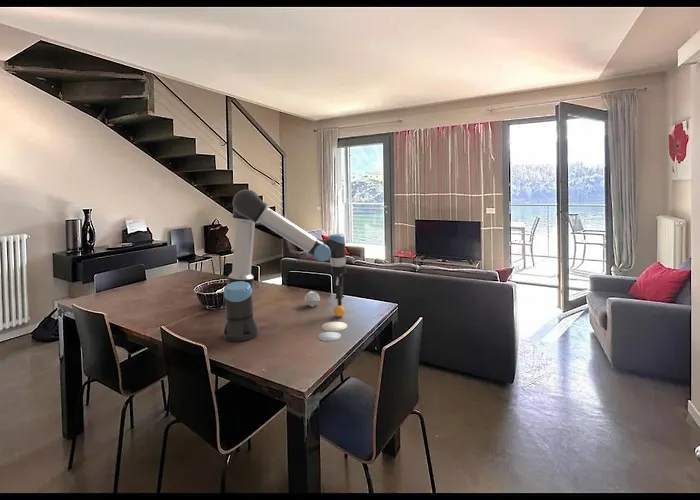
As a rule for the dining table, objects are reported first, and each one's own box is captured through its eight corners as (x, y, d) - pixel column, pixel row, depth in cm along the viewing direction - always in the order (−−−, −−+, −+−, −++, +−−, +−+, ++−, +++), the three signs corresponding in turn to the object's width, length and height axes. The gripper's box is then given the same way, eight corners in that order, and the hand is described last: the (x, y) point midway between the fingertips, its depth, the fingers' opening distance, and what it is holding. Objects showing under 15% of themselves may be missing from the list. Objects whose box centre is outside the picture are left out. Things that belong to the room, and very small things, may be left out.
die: (323, 307, 211) (321, 290, 215) (314, 303, 204) (313, 286, 209) (311, 310, 214) (309, 294, 219) (302, 307, 207) (300, 290, 212)
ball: (333, 318, 191) (332, 310, 189) (335, 312, 196) (334, 303, 194) (344, 319, 191) (343, 310, 188) (345, 312, 195) (345, 303, 193)
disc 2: (315, 340, 163) (315, 340, 163) (320, 331, 173) (320, 331, 173) (338, 341, 162) (338, 340, 162) (342, 332, 172) (342, 332, 172)
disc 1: (319, 331, 174) (319, 330, 174) (324, 321, 186) (324, 321, 186) (345, 331, 172) (345, 331, 172) (348, 322, 184) (348, 321, 184)
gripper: (343, 268, 185) (345, 314, 189) (347, 262, 197) (349, 306, 201) (328, 268, 186) (330, 314, 190) (333, 262, 198) (335, 306, 202)
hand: (340, 310), depth 196 cm, fingers closed
